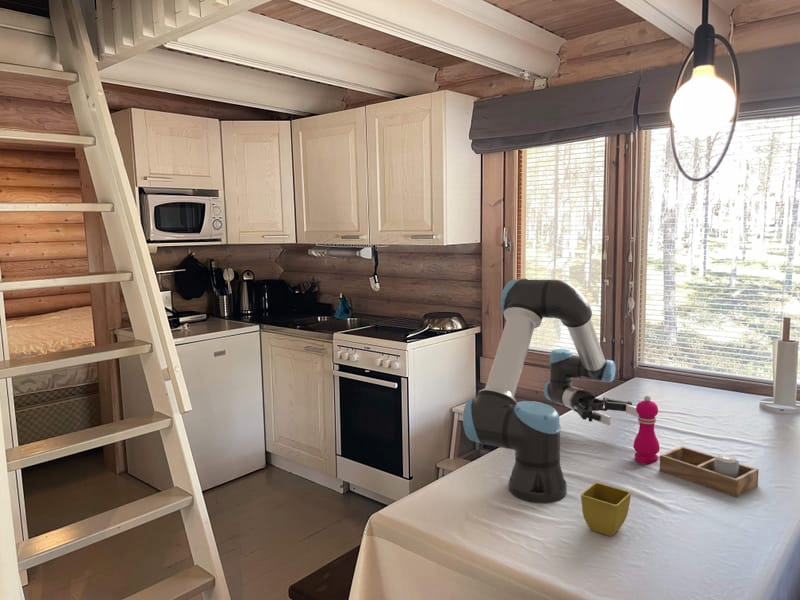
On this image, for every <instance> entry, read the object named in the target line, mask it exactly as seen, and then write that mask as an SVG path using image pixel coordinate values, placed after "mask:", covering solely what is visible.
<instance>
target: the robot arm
mask: <svg viewBox="0 0 800 600" xmlns="http://www.w3.org/2000/svg"><path fill="white" fill-rule="evenodd" d="M500 308H501V311H502V313H503V317H504V319H505V320H506V322H505V324H504V327H503V331H502V333H501V337H500V339H499V343H498V347H497V349H496V352H495V356H494V359H493V363H492V366H491V369H490V372H489V375H488V378H487V381H486V384H485V388H482V389H479V391H478V392H477V396H476V398H475V399H474V398H472V399H469V400H468V401H467V402H466V403H465V405H464V407H463V411H462V425H463V426H462V427H463V431H464V433H465V435H466V437H467V438H468V439H469V440H470V441H471V442H475V443H478V444H481V445H488V446H493V447H498V448H502V449H503V448H504V449H509V450H513V451H515V454H514V455H515V458H514V459H515V460H514V461H515V462H514V465H513V468H512V471H511V475H510V477H509V479H508V490H509V492H510V493H511V494H512V495H513V496H515V497H516V498H517V499H520V500H523V501H527V502H531V503H539V504H540V503H553V502H557V501H560V500H562V499H564V498H565V497H566V495H567V494H568V493H567V487H568V486H567V482H566V480H565V478H564V472H563V470H562V467H561V462H560V460H561V423H560V422H561V421H560V414H559V412H558V410H556V409H555V408H554V407H553V406H552V405H549V404H547V403H543V402H539V401H534V400H533V401H528V400H523V401H518V402H517V400H516V398H515V396H516V392H517V389H518V385H519V383H520V379H521V375H522V372H523V368H524V365H525V361H526V359H527V354H528V352H529V349H530V345H531V340H532V338H533V333H534V330H535V329H537V328H539V327H540V326H541V325H542V321H543V318H547V319H548V318H549V319H557V320H560V322H561V323H562V325H563V326H565V327H566V328H567V330H568V332H569V335H570V337H571V339H572V342H573V344H574V347H575V349H576V352H577V354H578V356H573V353H572V351H571V350H570V349H565V348H556V349H553V350H551V351H550V354H549V380H548V381H547V382H546V383H545V385H544V387H543V395H544V397H545V398H546V399H547V400H549V401H551V402H552V403H555V404H558V405H560V406H563V407H566V408H569V409H571V410H572V411H574V412H576V413H577V414H578V415H579V416H580V418H581V419H582V420H584V421H585V420H587V419H588V422H589V423H591V422H593V420H594V421H597V422H599V423H601V424H604V425H606V426H607V427H609V426H611V416H610V415H608V414H605V413H603V412H606V411H618V412H626V414H629V415H632V416H635V417H637V418H638V416H639V414H638V413H637V411H636V407H637V406H634V405H633V402H631V401H629V400H628V401H627V400H619V399H612V398H608V397H605V396H604V397H602V399H601V398H596V397H595V396H594V394H593V393H592V392H590V391H587V390H584V389H582V388H579V387H575V386H574V385H573V386H572V384H573V383H572V381H573V379H577V380H578V379H579V380H586V381H592V382H593V381H594V382H600V383H611V382H613V381H614V379H615V377H616V368H617V367H616V363H615V361H614V360H611V359H606V358H605V356H604V353H603V350H602V348H601V345H600V341H599V339H598V336H597V333H596V329H595V328H594V324H593V321H592V317H593V311H592V308H591V305H590V303H589V302H588V299H586V297H585V296H584V295H583V293H581V291H579V289H577V288H576V287H575V286H573V285H572V284H570V283H568V282H567V281H564V280H560V279H528V278H520V279H519V278H518V279H517V278H515V279H512V280H510V281H508V282H507V283H506V284H505V286H504V288H503V290H502V292H501V295H500ZM600 411H603V412H600Z"/></svg>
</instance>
